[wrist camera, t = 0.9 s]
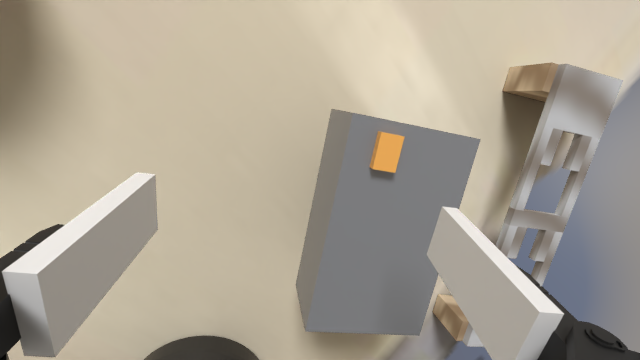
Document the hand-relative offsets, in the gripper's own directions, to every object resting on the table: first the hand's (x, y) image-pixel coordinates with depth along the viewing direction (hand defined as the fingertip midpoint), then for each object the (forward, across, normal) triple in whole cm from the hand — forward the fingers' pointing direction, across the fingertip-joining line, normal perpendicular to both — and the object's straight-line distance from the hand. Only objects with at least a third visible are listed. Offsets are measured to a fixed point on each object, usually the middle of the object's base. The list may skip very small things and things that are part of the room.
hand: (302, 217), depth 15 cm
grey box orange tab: (+18, -6, +6) cm, 19 cm away
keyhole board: (+20, -24, +6) cm, 32 cm away
